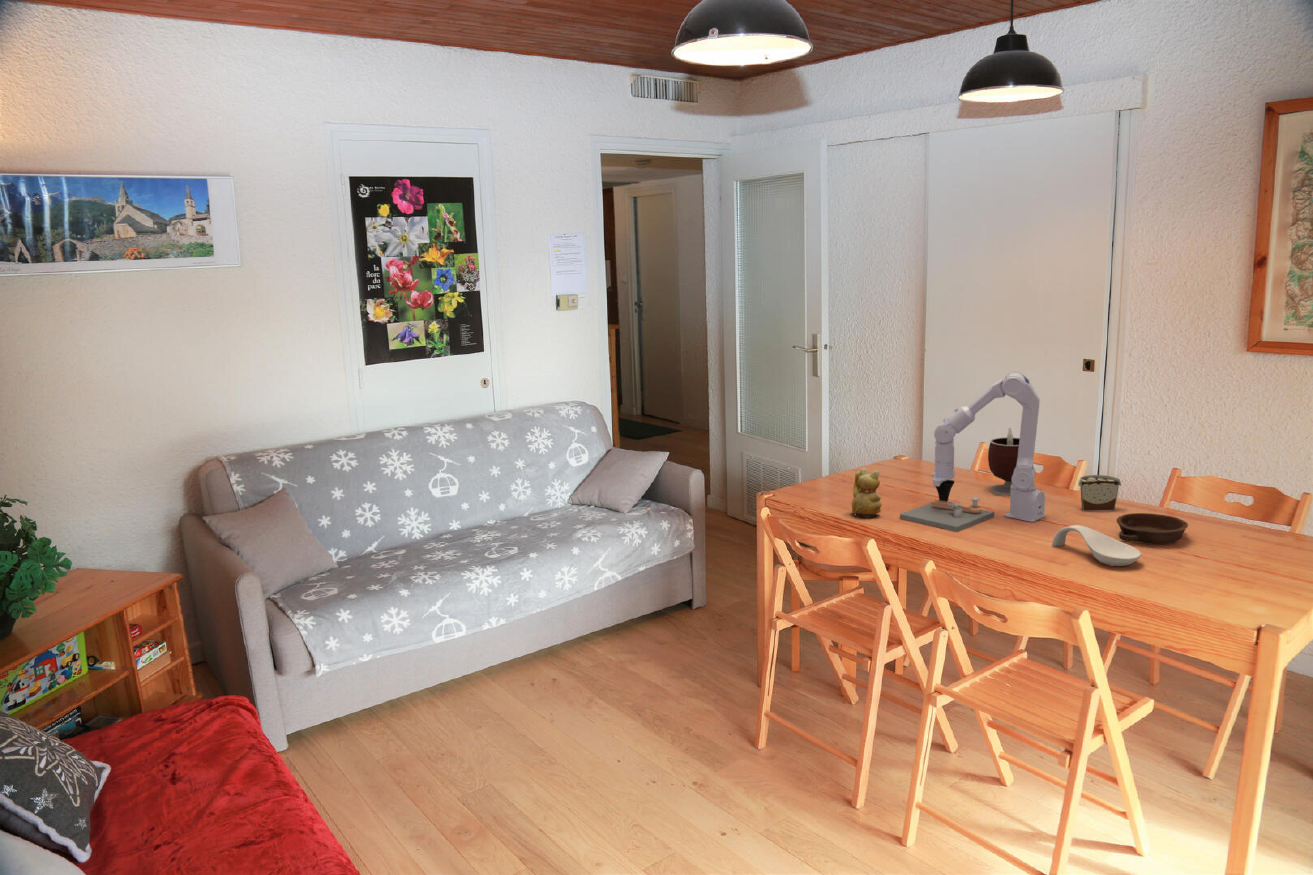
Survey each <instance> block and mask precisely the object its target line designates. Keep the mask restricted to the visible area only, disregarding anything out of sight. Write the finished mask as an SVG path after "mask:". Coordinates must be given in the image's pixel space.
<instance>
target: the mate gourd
mask: <svg viewBox="0 0 1313 875" xmlns="http://www.w3.org/2000/svg"><path fill="white" fill-rule="evenodd" d="M1019 439H1020V437H1014V435H1013V431H1012V428H1011V427H1009V428H1008V432H1007V437H997V438H992V439H990V443H989V446H988V452H987V460H988V462H987V463H988V467H989V471H990V472H991V473H992V474H993V476H994V477H996V478H998V479H1001V480H1003V481H1004V483H1003V484H997V485H993V486H991V487H990V488H989V492H990V493H991V492H992V493H991V494H994V495H997V496H1002V497H1010V492H1011V485H1012V480H1011V479H1012V476H1013V473H1014V469H1015V467H1016V465H1017V458H1018V449H1019Z"/></svg>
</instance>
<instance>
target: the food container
mask: <svg viewBox="0 0 1313 875" xmlns="http://www.w3.org/2000/svg"><path fill="white" fill-rule="evenodd" d="M1077 486H1078V487H1080V500H1081V511H1082V512H1113V511H1116V506H1117V505H1116V504H1117V501H1118V494H1119V488H1120V486H1122V482H1121V480H1120V478H1118V477H1115V476H1111V475H1104V474H1103V475H1102V474H1089V475H1084V476H1081V477H1080V478H1079V481H1078V484H1077Z"/></svg>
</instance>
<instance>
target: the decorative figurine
mask: <svg viewBox="0 0 1313 875" xmlns="http://www.w3.org/2000/svg"><path fill="white" fill-rule="evenodd" d="M854 476H855V477H854V484H853V489H852V490H853V491H852V495H853V499H852V502H851V510H852V512H853V513H854V514H856V515H855V516H857V515H859V516H858V517H862V518H866V519H867V518H868V519H869V518H870V517H875V515H877V514H879V513H881V511H882V509H881V508H882V506H883V505H882V501H881V499H882V496H881V495H880V494H878V493H877V489H878V488H879V487H880V483H881V482H880V479H879V476H880V472H879V470H877V469H874V470H873V471H872V472H871V473H869V472H868V469H867V468H866V467H862V468H861V469H860V470H857V471H856V472H855V474H854Z"/></svg>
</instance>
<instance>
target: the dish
mask: <svg viewBox="0 0 1313 875" xmlns="http://www.w3.org/2000/svg"><path fill="white" fill-rule="evenodd" d="M1116 523H1117V524H1118V526H1119V529H1120V531H1119V534H1118V537H1119V539H1120V541H1125V542H1137V543H1140V544H1147V545H1169V544H1174V543H1177V542H1178V541H1180V540H1181V539H1182V537H1183V536H1184V533H1185V531H1186V529H1187V528H1188V527H1189V524H1188V522H1186V521H1185V520H1183V519H1180V518H1179V517H1177V516H1172V515H1166V514H1157V513H1147V512H1145V513H1143V512H1135V513H1134V512H1133V513H1126V514H1122V515H1119V516H1118V517H1117V518H1116Z"/></svg>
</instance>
